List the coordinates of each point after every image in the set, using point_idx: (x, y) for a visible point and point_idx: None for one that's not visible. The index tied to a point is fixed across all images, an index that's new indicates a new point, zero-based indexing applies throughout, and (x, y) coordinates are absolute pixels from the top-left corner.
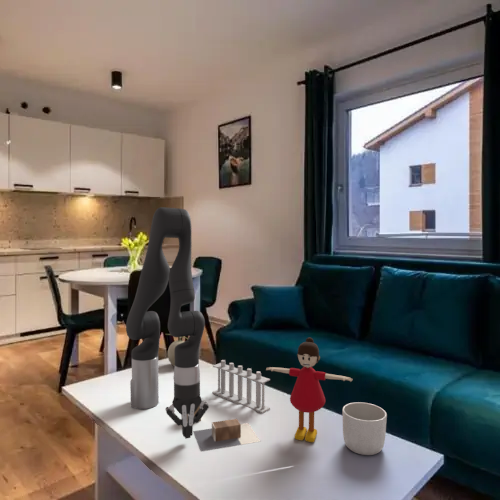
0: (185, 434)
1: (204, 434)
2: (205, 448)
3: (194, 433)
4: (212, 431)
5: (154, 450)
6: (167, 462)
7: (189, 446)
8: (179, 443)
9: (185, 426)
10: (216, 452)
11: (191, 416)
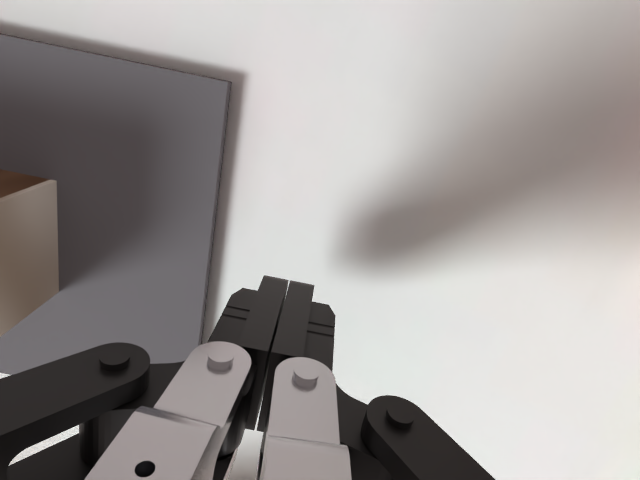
0: (310, 308)
1: (116, 327)
2: (171, 109)
3: None
4: (27, 289)
5: (574, 317)
6: (579, 77)
7: (290, 234)
8: (349, 315)
9: (303, 360)
10: (88, 7)
11: (171, 438)
